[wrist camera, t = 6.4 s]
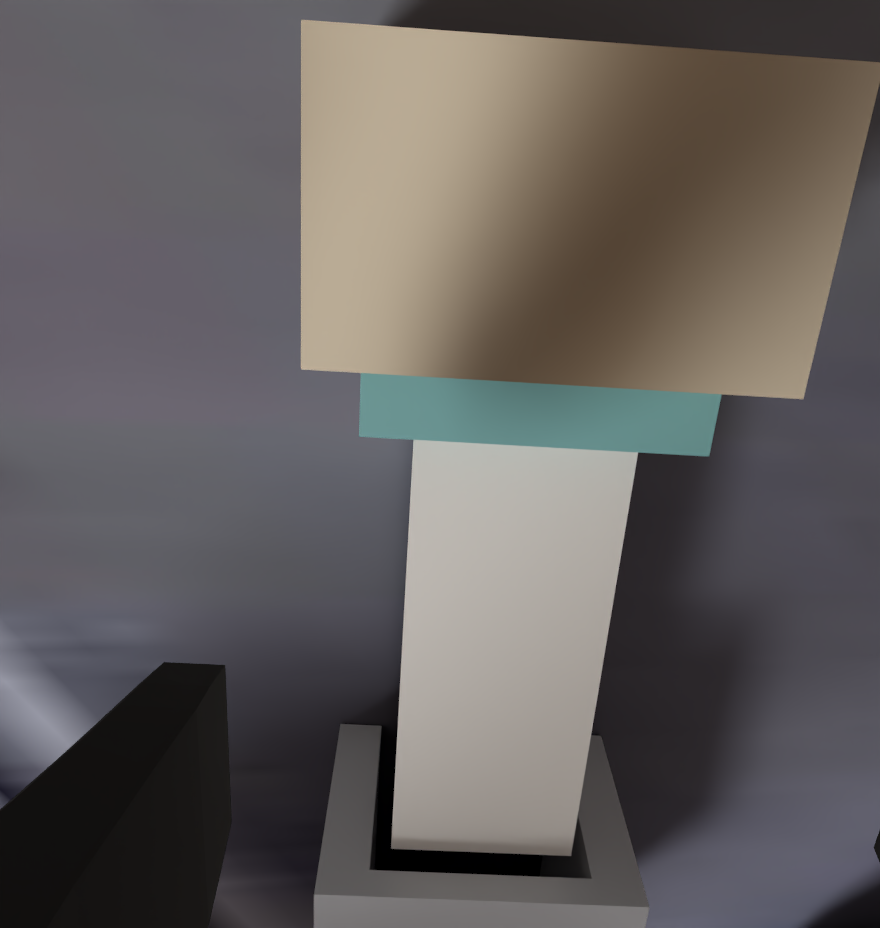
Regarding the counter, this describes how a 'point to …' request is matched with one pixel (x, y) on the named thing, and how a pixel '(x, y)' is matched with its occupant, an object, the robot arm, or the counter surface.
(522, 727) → the white bar teal band
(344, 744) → the sleeve
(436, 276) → the tan rectangular block
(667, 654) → the counter surface
